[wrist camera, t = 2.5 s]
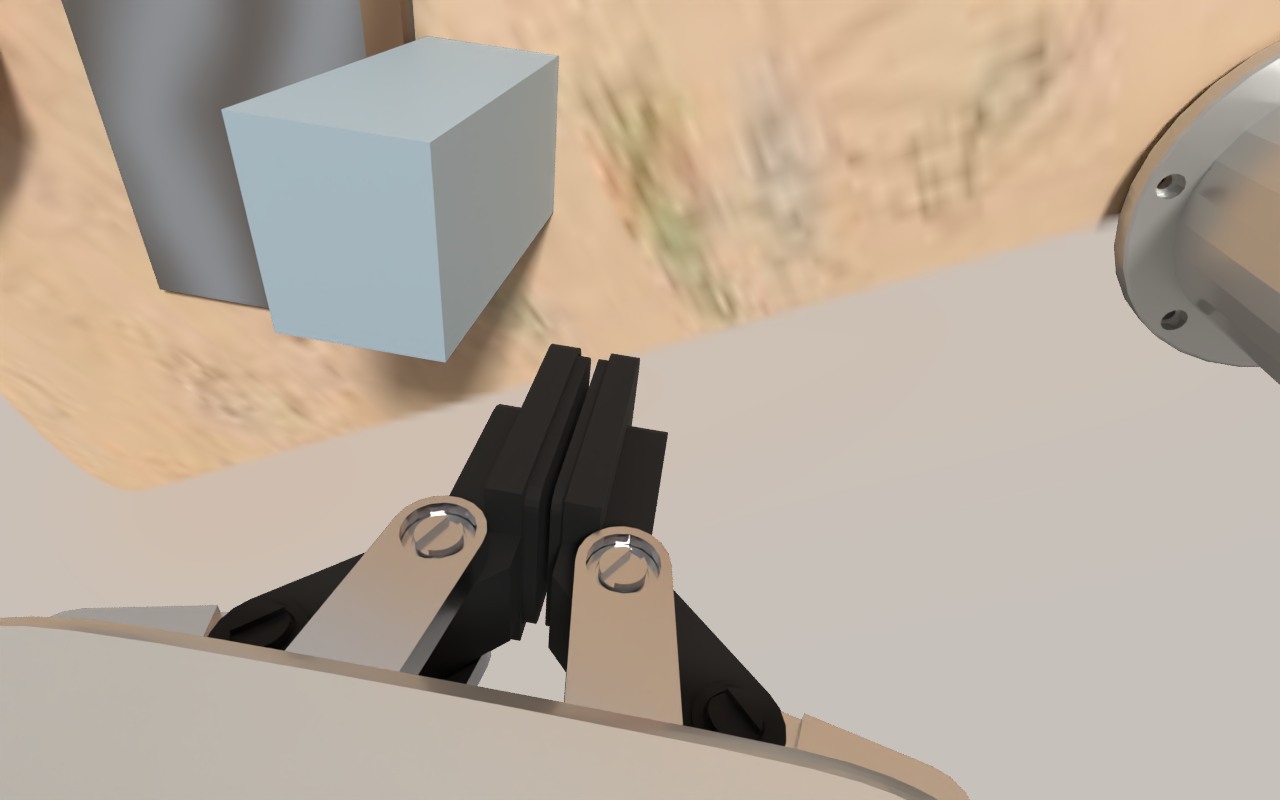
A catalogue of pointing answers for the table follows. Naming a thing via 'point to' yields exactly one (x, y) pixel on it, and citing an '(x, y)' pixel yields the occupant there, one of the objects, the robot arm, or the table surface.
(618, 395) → the robot arm
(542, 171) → the tall block
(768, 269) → the table surface
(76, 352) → the table surface
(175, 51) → the mat
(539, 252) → the table surface
